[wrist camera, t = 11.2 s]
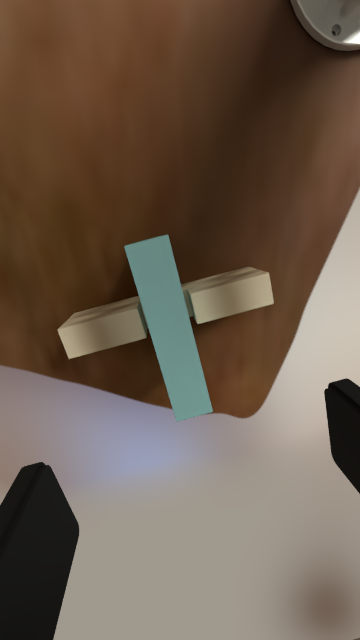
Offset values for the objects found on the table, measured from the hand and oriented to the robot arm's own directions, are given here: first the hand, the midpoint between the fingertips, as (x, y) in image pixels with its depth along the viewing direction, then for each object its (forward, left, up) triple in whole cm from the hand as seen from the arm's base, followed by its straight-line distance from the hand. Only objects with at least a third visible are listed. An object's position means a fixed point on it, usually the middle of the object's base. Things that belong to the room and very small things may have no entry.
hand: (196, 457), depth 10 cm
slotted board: (0, 0, -24) cm, 24 cm away
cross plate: (0, 0, -24) cm, 24 cm away
